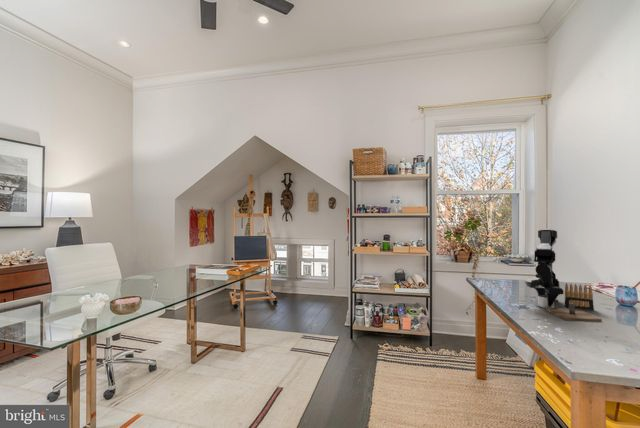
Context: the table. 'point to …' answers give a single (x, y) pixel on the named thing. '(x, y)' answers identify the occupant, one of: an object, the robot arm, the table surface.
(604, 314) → the table surface
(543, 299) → the tube
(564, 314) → the post base
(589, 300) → the ammunition clip
